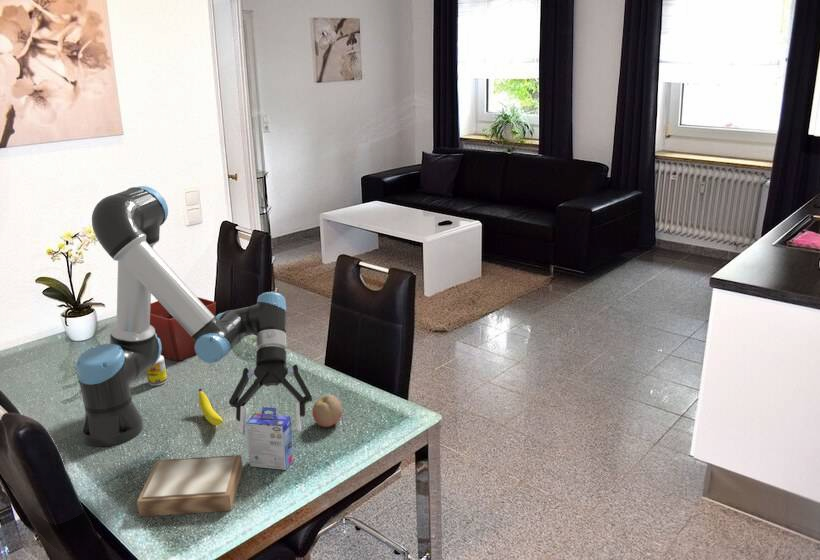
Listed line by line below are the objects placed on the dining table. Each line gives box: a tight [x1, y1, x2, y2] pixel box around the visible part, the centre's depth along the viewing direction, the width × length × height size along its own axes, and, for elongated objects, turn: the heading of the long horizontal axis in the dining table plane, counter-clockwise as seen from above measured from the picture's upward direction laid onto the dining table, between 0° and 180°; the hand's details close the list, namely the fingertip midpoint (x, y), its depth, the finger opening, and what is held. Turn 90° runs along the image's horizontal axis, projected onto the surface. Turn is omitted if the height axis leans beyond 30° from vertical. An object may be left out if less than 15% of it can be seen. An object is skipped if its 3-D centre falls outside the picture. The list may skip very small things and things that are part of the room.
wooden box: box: [136, 454, 244, 517], centre depth 160 cm, size 20×16×4 cm
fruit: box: [311, 394, 343, 428], centre depth 187 cm, size 8×8×8 cm
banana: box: [198, 388, 224, 427], centre depth 190 cm, size 3×19×6 cm, turn 32°
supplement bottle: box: [146, 354, 168, 386], centre depth 214 cm, size 6×6×10 cm
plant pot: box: [150, 296, 217, 362], centre depth 235 cm, size 19×19×17 cm
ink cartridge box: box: [245, 406, 295, 471], centre depth 169 cm, size 10×6×14 cm, turn 78°
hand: (270, 431), depth 169 cm, fingers open, 13 cm apart
